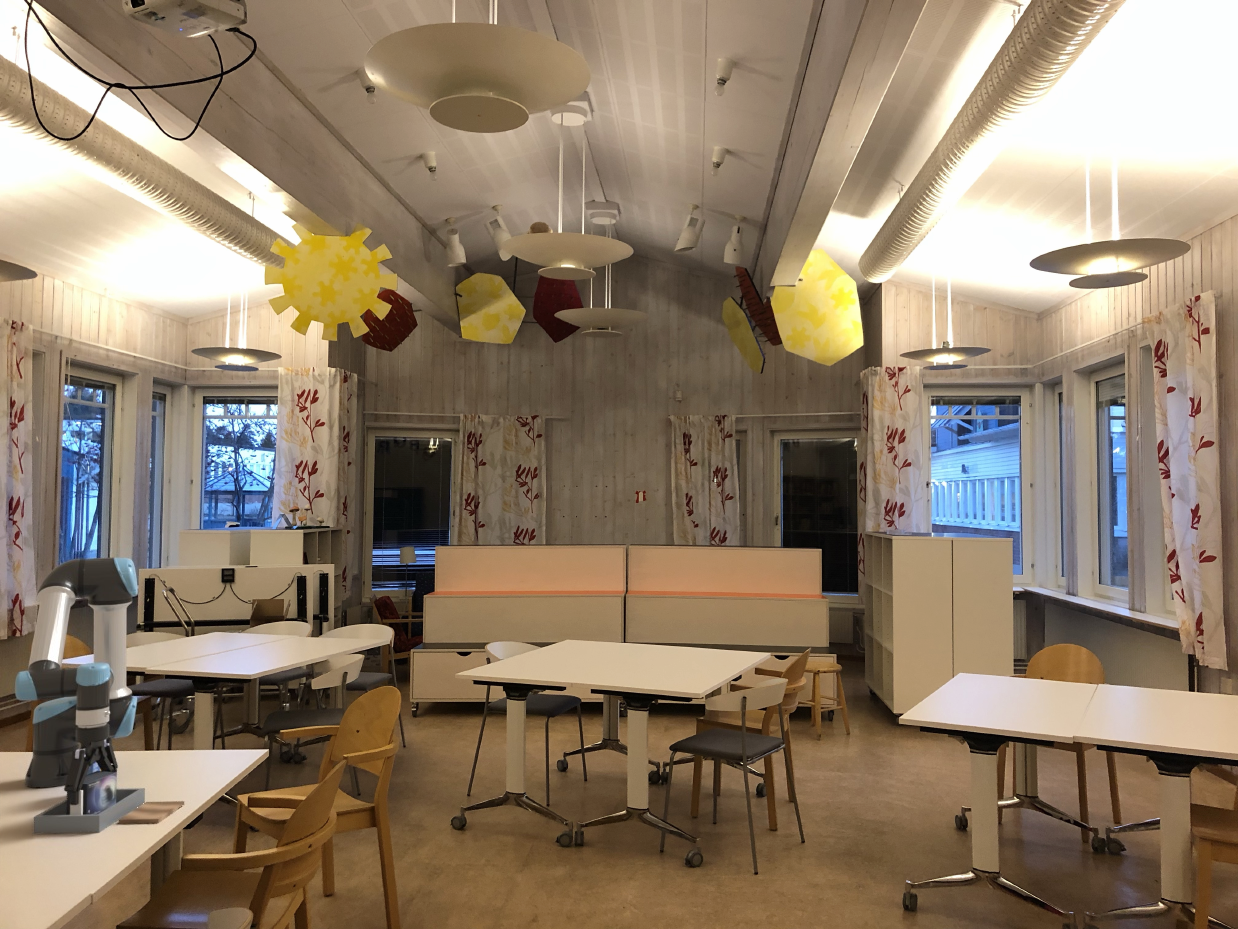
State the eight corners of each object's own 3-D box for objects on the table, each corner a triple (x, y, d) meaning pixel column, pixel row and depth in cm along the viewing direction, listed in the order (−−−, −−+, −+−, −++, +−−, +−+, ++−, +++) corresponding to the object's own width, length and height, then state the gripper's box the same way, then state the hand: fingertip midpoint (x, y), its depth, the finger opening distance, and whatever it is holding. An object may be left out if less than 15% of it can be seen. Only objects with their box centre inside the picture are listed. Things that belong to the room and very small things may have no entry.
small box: (86, 825, 230) (87, 783, 231) (64, 824, 231) (65, 782, 232) (117, 812, 241) (118, 771, 241) (96, 810, 242) (96, 770, 242)
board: (146, 805, 245) (146, 801, 245) (184, 805, 245) (184, 801, 245) (118, 823, 231) (118, 819, 231) (158, 823, 231) (158, 819, 231)
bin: (84, 804, 247) (84, 789, 247) (144, 803, 247) (144, 788, 247) (33, 833, 225) (33, 816, 225) (99, 832, 225) (99, 815, 225)
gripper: (79, 736, 225) (78, 824, 224) (132, 713, 250) (131, 793, 249) (48, 736, 225) (47, 825, 224) (104, 714, 250) (103, 793, 248)
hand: (91, 808), depth 236 cm, fingers open, 13 cm apart
